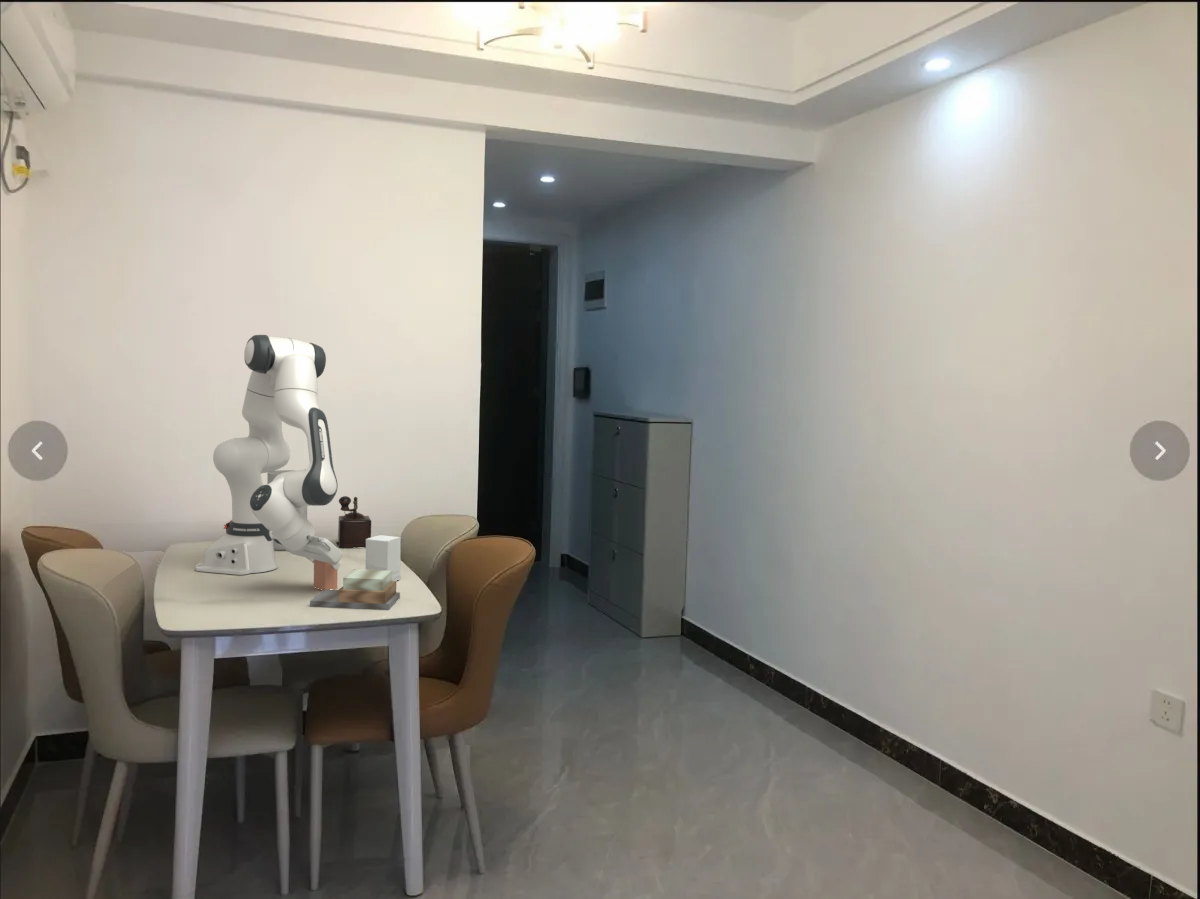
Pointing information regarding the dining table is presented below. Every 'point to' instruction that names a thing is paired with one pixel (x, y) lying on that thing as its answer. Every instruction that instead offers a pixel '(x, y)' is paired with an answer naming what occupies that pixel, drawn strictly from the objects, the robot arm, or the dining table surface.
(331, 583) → the block
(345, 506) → the manual coffee grinder
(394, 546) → the supplement box
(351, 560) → the dining table surface
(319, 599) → the build plinth
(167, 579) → the dining table surface
